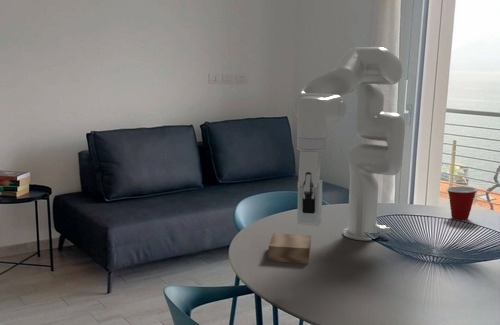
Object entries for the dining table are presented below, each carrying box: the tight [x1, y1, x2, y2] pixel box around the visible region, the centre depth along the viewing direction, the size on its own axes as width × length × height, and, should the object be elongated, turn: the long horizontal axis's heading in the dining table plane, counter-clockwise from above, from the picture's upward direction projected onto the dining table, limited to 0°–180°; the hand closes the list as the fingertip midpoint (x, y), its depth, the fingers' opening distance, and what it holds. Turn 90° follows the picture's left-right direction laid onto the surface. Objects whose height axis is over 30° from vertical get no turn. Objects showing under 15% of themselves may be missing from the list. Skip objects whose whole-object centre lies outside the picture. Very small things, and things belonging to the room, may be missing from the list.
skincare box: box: [296, 179, 323, 227], centre depth 146 cm, size 6×4×12 cm
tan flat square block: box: [268, 233, 312, 264], centre depth 166 cm, size 12×12×5 cm
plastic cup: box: [446, 185, 478, 221], centre depth 206 cm, size 11×11×12 cm
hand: (309, 209), depth 146 cm, fingers closed on skincare box, 4 cm apart
